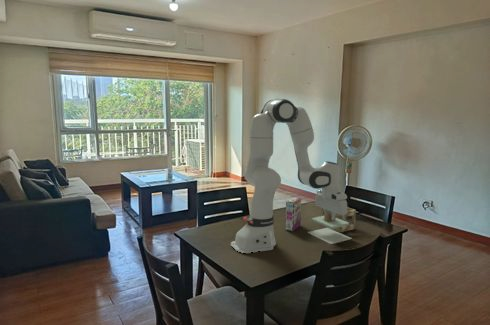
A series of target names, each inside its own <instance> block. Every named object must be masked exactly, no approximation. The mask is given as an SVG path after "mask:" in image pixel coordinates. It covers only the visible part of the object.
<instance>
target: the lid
mask: <svg viewBox="0 0 490 325" xmlns="http://www.w3.org/2000/svg"><path fill="white" fill-rule="evenodd" d="M330 216H332V213H329V214H324V216H322V215H321V216H316V217H311V221H313V222H315V223H317V224H319V225H322V226H324V227H325V228H329V229H332V230H333V229H334V228H338V227H342V226H346V225H349V223H348V222H349V221H348V222H346V221H347V220H346V221H343V220H340V219H338V218H336V215H335V218H334V220H331V219H330Z"/></svg>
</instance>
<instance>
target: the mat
mask: <svg viewBox="0 0 490 325" xmlns="http://www.w3.org/2000/svg"><path fill="white" fill-rule="evenodd" d="M307 234H310V235H311V236H313V237H315V238H317V239H318V240H322V241H324V243H325V242H326V243H327V244H329V245H333V244H337V243H342V242H345V241H349V240H352V237H350V236H347V235H346V234H343V233H342V232H341V233H340V232H338V231H336V230H333V229H330V228H328V227H324V228H319V229H314V230H311V231H307Z"/></svg>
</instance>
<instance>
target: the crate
mask: <svg viewBox="0 0 490 325" xmlns="http://www.w3.org/2000/svg"><path fill="white" fill-rule="evenodd" d="M328 213H331V211H328ZM324 214H325V212H324V209H323V208H321V216H324ZM356 214H357V210H356V209H354V208H351V207H349V206H347V213H346V214H345V215H339V214H336V216H337V217H339V219H340V220H342V218H343V217H346V218H347V217H352V218H351V222H350V221H349V220H346V222H348V223H349V225H346V226H342V227H338V228H334V229H332V230H334V231H336V232H338V233H341V234H342V233H344V232H348V231H351V230H352V231H353V230H355V229H356Z"/></svg>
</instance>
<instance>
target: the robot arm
mask: <svg viewBox="0 0 490 325" xmlns="http://www.w3.org/2000/svg"><path fill="white" fill-rule="evenodd" d="M277 123H284V124H286V126H287V128H288V131H289V135H290V138H291V140H292V143H293V149H294V153H295V158H296V162H297V179H298V181H299V182H300V183H301V185H302V184H303V185H306V186H308V187H310V188H312V189H317V190H316V194H315V201H314V205H315V206H316V207H318V208H320V209H322V208H323V209H324V212H325V214H329V213H328V211H331V213H332V216H330V219H331V220H334V218H335V215H336V214H339V215H345V214H346V213H347V207H348V202H347V199H348V195H347V194H346V193H345V192H343V191H342V190H341V189H340V180H341V170H340V169H341V168H340V166H339V164H338V163H336V162H333V161H329V160H327V161H324V162H323V163H322V164H321V165H319V166H318V167H315V168H314V166H312V165H311V162H310V157H309V153H308V148H309V147H310V146H311V145H312V144H313V142H314V140H315V132H314V128H313V125H312V122H311V119H310V117H309V115H308V113H307V111H306V109H305V108H304V107H300V106H297V107H296V106H295V105H294V103H293V102H292V101H290V100H289V99H286V98H274V99H270V100H268V101H267V102H266V103H264V104H263V108H262V109H261V111H260V113H256V114H255V115H254V116H253V117H252V118H251V123H250V128H249V129H250V130H249V157H248V160H247V165H246V167H245V169H244V170H243V171H244V172H243V177H244V179H245V181H246V182H247V183H248V184H249V185H250V186H253V188H254V191H253V194H252V197H251V198H250V200H249V208H250V209H249V212H250V214H249V217H247V216H243V219H242V220H243V221H244V222H247V223H246V224H245V225H244V226H243V227H242V228H241V229H239V230H238V231H237V232H236V234H235V239H234V240H233V241H231V242H230V247H231V246H232V247H233V248H234V249H235V250H234V249H233V248H232V247H231V248H232V249H233V250H234V251H235V252H237V251H238V253H239V252H241V253H240V254H243V253H246V254H252V253H251V252H253V253H259V252H258V251H260V252H267V251H273V250H274V247H275V246H276V244H277V242H276V238H275V232H274V224H275V222H274V221H275V219H274V214H273V213H274V199H275V198H274V197H275V194H276V191H277V190H278V189H279V188H280V186H281V183H282V179H281V175H280V174H279V173H278V172H277V171H276V170H275V169H273V168H271V167H269V163H270V160H271V157H272V156H273V154H274V129H275V125H276V124H277Z"/></svg>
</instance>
